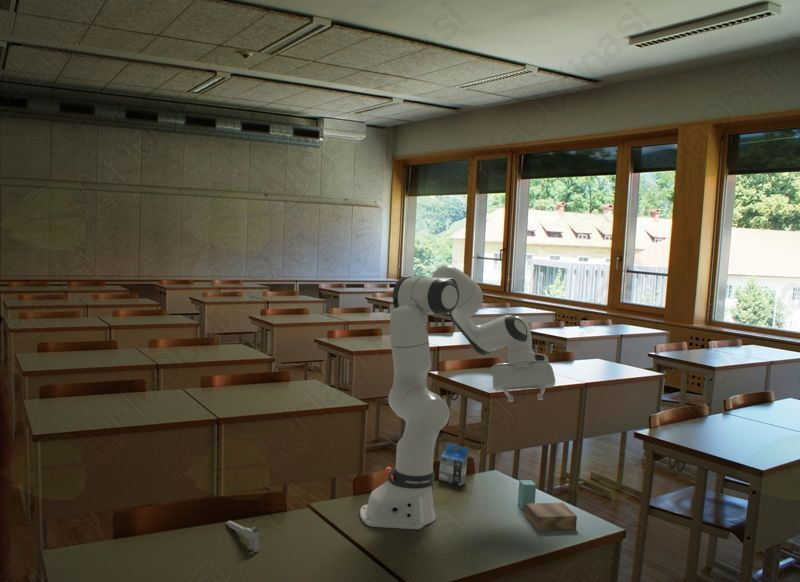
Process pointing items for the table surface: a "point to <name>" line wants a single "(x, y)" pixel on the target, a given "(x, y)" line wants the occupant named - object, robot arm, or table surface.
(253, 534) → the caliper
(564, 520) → the walnut block
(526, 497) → the teal column
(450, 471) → the label tape box
